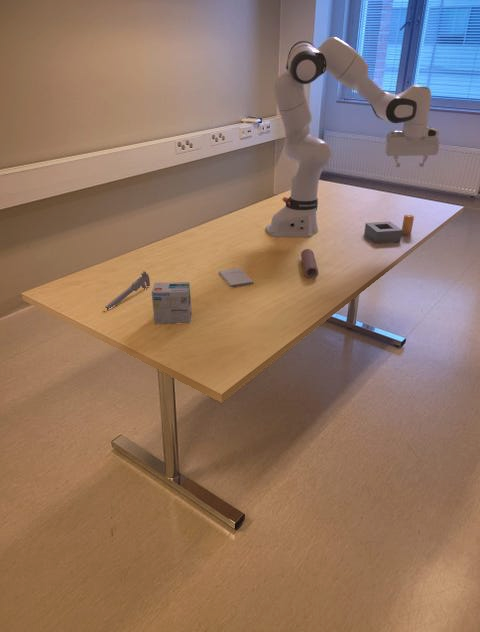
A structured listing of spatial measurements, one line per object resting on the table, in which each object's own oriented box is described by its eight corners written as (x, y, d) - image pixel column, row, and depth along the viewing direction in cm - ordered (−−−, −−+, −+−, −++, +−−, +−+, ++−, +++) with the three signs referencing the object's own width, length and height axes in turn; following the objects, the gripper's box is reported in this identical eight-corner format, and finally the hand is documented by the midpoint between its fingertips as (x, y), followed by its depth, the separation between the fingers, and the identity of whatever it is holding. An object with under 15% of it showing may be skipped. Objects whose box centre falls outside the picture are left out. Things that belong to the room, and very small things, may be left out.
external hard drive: (230, 289, 169) (218, 274, 179) (253, 285, 171) (240, 271, 181) (230, 285, 168) (218, 270, 178) (253, 281, 170) (240, 267, 181)
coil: (319, 268, 173) (314, 248, 188) (306, 266, 172) (302, 247, 188) (317, 280, 175) (312, 260, 191) (303, 279, 175) (300, 258, 190)
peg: (403, 236, 212) (407, 218, 208) (399, 233, 216) (402, 215, 212) (412, 235, 213) (415, 217, 209) (407, 232, 216) (411, 214, 213)
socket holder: (375, 243, 205) (377, 231, 202) (364, 234, 214) (365, 223, 212) (400, 241, 207) (402, 230, 204) (388, 232, 216) (389, 221, 214)
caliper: (147, 287, 169) (146, 269, 166) (150, 287, 169) (148, 270, 166) (102, 312, 154) (100, 293, 151) (105, 313, 153) (102, 294, 150)
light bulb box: (191, 313, 153) (190, 281, 148) (190, 324, 147) (189, 291, 142) (156, 313, 153) (153, 281, 147) (153, 324, 147) (150, 291, 142)
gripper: (389, 132, 193) (384, 169, 200) (443, 131, 192) (437, 168, 199) (385, 129, 199) (381, 165, 206) (438, 128, 198) (432, 164, 205)
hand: (409, 166), depth 203 cm, fingers open, 8 cm apart
